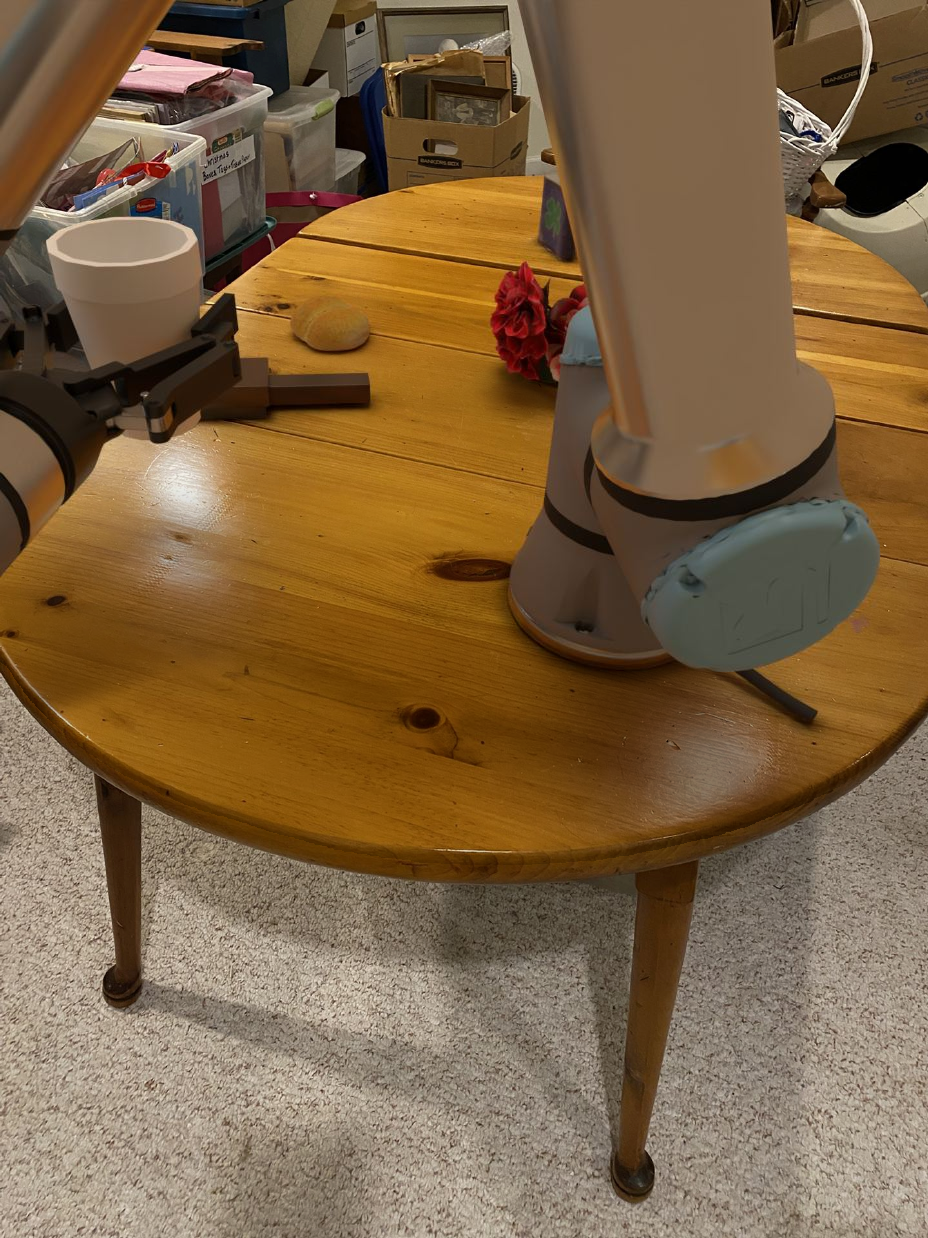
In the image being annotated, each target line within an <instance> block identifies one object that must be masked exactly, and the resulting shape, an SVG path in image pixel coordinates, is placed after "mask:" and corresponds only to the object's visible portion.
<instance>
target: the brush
mask: <svg viewBox="0 0 928 1238" xmlns="http://www.w3.org/2000/svg"><path fill="white" fill-rule="evenodd" d="M240 362H241V370H242V380H241V381H240V382H238V383H237V384H236V385H234V386H233V387H231V388H230V389H229V390H227V391H226V392H224V393H223V394H222V395H220V396H219V397H218V398H216V399H215V400H213V401H212V402H211V403H209V404H208V405H206V406H205V407H204V408H202V409H201V410H200V416H201V418H200V420H199V421H220V420H221V421H223V420H255V419H256V420H257V419H258V420H259V419H260V420H261V419H268V407H271V406H289V405H291V406H294V405H325V404H326V405H329V404H362V403H363V404H364V403H365V404H366V403H367V404H368V403H371V381H370V375H369V373H368V372H347V373H346V372H343V373H341V372H340V373H339V372H337V373H304V374H303V373H300V374H299V373H297V374H296V373H295V374H294V373H293V374H270V364H269V357H267V356H266V357H263V356H262V357H240Z"/></svg>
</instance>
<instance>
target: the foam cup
mask: <svg viewBox="0 0 928 1238" xmlns="http://www.w3.org/2000/svg"><path fill="white" fill-rule="evenodd" d="M45 243H46V244H45V245H46V249H47V254H48V258H49V263H50V267H51V270H52V274H53V279H54V282H55V287H56V289H57V290H58V291H59V292H60V293H61V295H62V297H63V300H65V302H66V305H67V308H68V310H69V313H70V315H71V318H72V321H73V323H74V326H75V328H76V331H77V334H78V336H79V339H80V341H79V342H80V344H81V346H82V349H83V352H84V354H85V357H86V360H87V362H88V365H89V367H90V370H93V369H95V368H98V367H100V366H103V365H106V364H108V363H111V362H113V361H118V362H120V363H122V364H124V365H126V364H129V363H131V362H134V361H136V360H139V359H141V358H144V357H146V356H149V355H151V354H154V353H156V352H159V351H161V350H164V349H166V348H169V347H171V346H174V345H176V344H179V343H181V342H184V341H186V340H189V339H191V338H192V336H191V328H192V327H193V326H194V325H195V324H196V323H197V322H198V321H199V320H200V319H201V293H200V291H201V289H200V288H201V285H200V283H201V282H200V280H201V278H202V277H203V268H202V261H201V255H200V253H201V252H200V247H199V240H198V237H197V235H196V234H195V232H194V230H193V228H191V227H188V226H186V225H183V224H181V223H179V222H176V221H174V220H169V219H164V218H163V219H162V218H155V217H149V216H111V217H106V218H99V219H93V220H91V219H90V220H86V221H85V220H84V221H81V222H79V223H76V224H75V223H74V224H72V225H70V226H66V227H63V228H61V229H60V228H59V230H57V231H56V232H55V233H53V234H52V235H51V236H50V237H49V238H48V239H46V240H45ZM111 383H112V385H113V387H114V389H115V385H114V381H111ZM115 391H116V389H115ZM200 418H201V416H200V411H198V412H197V413H195V414H194V415H193V416H191V417H190V418H188V419H187V420H186V421H184V422H183V423H181V424H180V425H179V426H178V427H177V429H176V431H175V432H174V434H173V436H172V437H171V439H172V438H174V437H179V436H182V435H184V434H186V433H187V432H189V431H191V430H193V429H194V428H196V427H197V425H198V423H199V421H201V420H200ZM121 435H122V436H123V437H124V438H129V439H133V440H138V441H150V438H149V433H148V431H142V430H127V429H125V431H124V432H123V434H121Z"/></svg>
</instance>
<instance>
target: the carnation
mask: <svg viewBox="0 0 928 1238" xmlns="http://www.w3.org/2000/svg"><path fill="white" fill-rule="evenodd" d="M552 277H553V276H552V275H551V276H550V277H549V279H548V280H547V282H546V284H545V285H544V286H543V287H541V285H540V284H539V282H538V281H537V279H536V277H535V275H534V273H533V269H532V268H531V267H530V265H529V264H528V262H527V260H524V261H523V262H521V264H520V268H519V269H518V270H517V271H516V272H515V273H514V272H513V270H509V271H507V272H505V274H504V276H503V278H502V280H501V281H500V284H499V286H498V289H497V292H496V293H495V295H494V297H493V299H494V302H495V303H496V307H495V309H494V311H493V312H492V313H490V316H491V317H490V319H489V325H490V327H492V329H491V332H492V334H493V336H494V338H495V340H496V345H495V351H496V352H497V353H498V354H497V355H499V360H501V361H504V362H505V366H506V370H507V373H508V374H512V373H518V374H520V376H523V377H524V378H525V379H526V380H529V381H530V380H537V381H539V382H542V383H545V384H546V383H548V384H551V383H559V376H560V368H561V363H559V356H560V355H561V354H562V353H563V349H564V345H565V340H566V334H567V329H568V326H569V323H570V321H571V319H572V318H573V316H574V315H575V314H576V313H577V312H578V311H580V310H581V309H582V308H584V307H586V306H588V305H589V303H588V299H587V294H586V290H585V286H584V283H583V284H581V285H577V286H576V287H574V288H573V289H572V290H571V291H570V294H569V296H568V297H562V298H560V299H558V300H557V301H556V302H554V304H553V305H552V306H551V305H550V299H549V296H550V283H551V279H552Z"/></svg>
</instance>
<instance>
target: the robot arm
mask: <svg viewBox="0 0 928 1238" xmlns="http://www.w3.org/2000/svg"><path fill="white" fill-rule="evenodd" d="M516 1H517V5H518V10H519V14H520V18H521V23H522V26H523V31H524V35H525V39H526V43H527V48H528V52H529V55H530V60H531V64H532V69H533V73H534V77H535V81H536V82H535V83H536V85H537V86H536V87H537V90H538V95H539V99H540V103H541V107H542V111H543V115H544V120H545V124H546V129H547V133H548V136H549V142H550V146H551V150H552V154H553V158H554V163H555V167H556V171H557V176H559V180H560V184H561V188H562V192H563V197H564V201H565V205H566V209H567V214H568V218H569V222H570V226H571V231H572V235H573V239H574V243H575V248H576V250H575V253H576V256H577V261H578V264H579V268H580V272H581V277H582V281H583V284H584V286H585V290H586V294H587V299H588V303H589V305H588V306H586V307H584V308H582V309H581V310H580V311H578V312H577V313H576V314H575V315H574V316H573V318H572V319H571V321H570V323H569V326H568V329H567V334H566V340H565V345H564V349H563V353H562V354H561V355H560V356H559V363H561V368H560V376H559V382H558V384H557V394H556V399H555V400H556V401H555V409H554V417H553V424H552V432H551V440H550V449H549V457H548V465H547V473H546V480H545V488H544V495H543V496H544V497H543V503H542V507H541V509H540V511H539V513H538V515H537V517H536V518H535V520H534V522H533V524H532V525H531V526H530V527H529V529H528V532H527V533H526V535H525V540H524V542H523V544H522V547H521V548H520V549H519V550H518V551H517V554H516V555H515V557H514V560H513V562H512V564H511V567H510V570H509V580H508V588H507V599H508V605H509V608H510V609H509V610H510V612H511V614H512V616H513V617H514V619H515V621H516V622H517V624H518V625H519V626H520V628H521V629H522V630H523V632H525V634H527V635H528V636H529V638H531V639H532V640H534V641H535V642H536V643H537V644H538V645H540V646H542V647H543V648H544V649H547V650H548V651H550V652H552V653H554V654H556V655H558V656H560V657H561V658H564V659H567V660H570V661H572V662H575V663H578V664H581V665H585V666H589V667H594V668H601V669H605V670H616V671H617V670H618V671H619V670H621V671H626V670H627V671H631V670H643V669H651V668H655V667H660V666H662V665H666V664H667V663H672V662H674V661H678V662H680V663H681V664H683V665H685V666H687V667H690V668H694V669H699V670H700V669H707V670H709V671H712V672H718V673H719V672H720V673H731V672H734V673H735V674H737V675H738V676H740V678H742V679H744V680H745V681H747V682H748V683H749V684H751V685H752V686H753V687H754V688H756V689H757V690H758V691H760V692H761V693H763V694H764V695H765V696H767V697H768V698H770V699H771V700H773V701H774V702H776V703H777V704H779V705H780V706H782V707H783V708H785V709H786V710H788V711H790V712H791V713H793V714H795V715H797V716H798V717H799V718H802V720H805V721H807V722H809V723H812V722H813V721H814V720H815V719H816V717H817V715H818V713H819V711H818V710H817V709H815V708H813V707H812V706H811V705H808V704H807V703H805V702H803V701H801V700H799V699H798V698H796V697H795V696H793V695H791V694H790V693H788V692H787V691H785V690H784V689H782V688H781V687H780V686H778V685H776V684H775V683H774V682H772V681H771V680H770V679H768V678H767V677H765V676H764V674H762V673H760V672H758V670H756V669H757V668H762V667H765V666H768V665H772V664H774V663H777V662H780V661H783V660H785V659H789V658H790V657H792V656H793V657H794V656H795V655H797V654H799V653H801V652H803V651H806V649H809V648H810V647H811V646H813V645H815V644H817V643H819V642H820V641H822V640H823V639H825V638H826V637H827V636H828V635H830V634H831V633H833V631H834V630H835V629H836V628H837V627H838V626H839V625H840V624H841V623H843V622H845V621H846V620H848V619H849V617H850V616H851V615H853V613H854V612H855V611H856V610H857V609H858V608H859V606H860V605H861V604H862V603H863V601H864V600H865V599H866V597H867V596H868V594H869V592H870V591H871V589H872V588H873V587H872V586H873V585H874V583H875V580H876V578H877V575H878V571H879V567H880V562H881V549H880V542H879V541H878V538H877V535H876V533H875V531H874V530H873V529H872V527H871V525H870V518H869V516H868V515H867V514H866V512H865V511H864V510H863V509H862V508H861V507H860V506H858V505H857V504H856V503H854V502H851V501H849V499H848V498H847V496H846V494H845V491H844V489H843V487H842V484H841V480H840V476H839V464H838V463H839V461H838V460H839V459H838V442H837V441H838V440H837V421H836V420H837V418H836V417H837V416H836V401H835V396H834V392H833V389H832V387H831V385H830V382H829V381H828V380H827V379H826V377H825V376H824V375H823V374H822V373H821V372H820V371H819V370H817V369H816V368H815V367H813V366H812V365H810V364H808V363H806V362H805V361H803V360H801V359H799V358H797V345H796V333H795V320H794V319H795V318H794V306H793V305H794V304H793V303H794V302H793V292H792V291H793V290H792V278H791V277H792V276H791V264H790V262H791V261H790V250H789V238H788V224H787V223H788V222H787V211H786V210H787V209H786V195H785V181H784V169H783V155H782V154H783V153H782V141H781V140H782V139H781V129H780V127H781V126H780V115H779V113H780V112H779V100H778V86H777V85H778V84H777V74H776V71H777V70H776V59H775V57H776V56H775V47H774V46H775V45H774V32H773V30H774V29H773V19H772V3H771V0H516ZM175 2H176V0H0V261H1V260H2V259H3V257H4V255H5V254H6V253H7V252H8V250H9V248H10V247H11V245H12V244H13V243H14V241H15V239H16V238H17V236H18V233H19V231H20V230H21V228H22V226H23V225H24V224H25V222H26V221H27V220H28V218H29V217H30V215H31V214H32V212H33V210H34V209H35V208H36V206H37V205H38V203H39V202H40V200H41V198H43V196H44V195H45V193H46V191H47V190H48V188H49V187H50V186H51V184H52V182H53V181H54V180H55V179H56V177H57V175H58V174H59V172H60V171H61V169H62V168H63V166H64V165H65V164H66V162H67V160H68V159H69V158H70V156H71V155H72V154H73V152H74V150H75V149H76V148H77V146H78V145H79V143H80V141H81V140H82V139H83V137H84V136H85V134H86V133H87V131H88V129H90V127H91V125H92V124H93V123H94V121H95V120H96V118H97V116H98V115H99V113H100V112H101V111H102V109H103V108H104V107H105V105H106V103H107V102H108V100H109V99H110V97H111V96H112V95H113V93H114V92H115V90H116V89H117V87H118V85H119V84H120V83H121V81H122V80H123V78H125V76H126V74H127V73H128V71H129V69H130V68H131V66H132V65H133V63H134V62H135V61H136V60H137V58H138V57H139V55H140V53H141V52H142V51H143V49H144V48H145V47H146V45H147V43H148V42H149V41H150V39H151V37H152V36H153V34H154V33H155V31H156V30H157V29H158V27H159V26H160V24H161V22H162V21H163V20H164V18H165V17H166V15H167V14H168V13H169V11H170V9H171V8H172V6H173V5H174V3H175ZM21 313H22V316H23V319H24V321H23V322H15V320H14V317H12V316H7V315H0V578H2V576H3V575H4V574H5V573H6V571H8V569H9V568H10V567H11V565H12V564H13V563H14V562H15V561H16V560H17V558H18V557H19V556H20V555H21V554H22V553H23V551H24V550H25V549H26V548H27V547H28V546H29V545H30V543H32V541H33V540H34V539H35V538H36V537H37V535H38V534H39V533H40V532H41V531H42V530H43V528H44V527H45V526H46V525H47V524H48V523H49V522H50V521H51V519H52V518H54V516H55V515H56V514H57V512H58V511H59V510H60V508H61V507H62V506H63V505H65V504H66V503H67V502H68V501H69V500H70V499H71V497H72V496H73V495H74V494H75V493H76V492H77V490H78V489H79V488H80V487H81V486H82V485H83V483H84V482H85V481H86V480H87V479H88V478H89V477H90V475H91V474H92V473H93V471H94V469H95V468H96V465H97V463H98V460H99V458H100V455H101V452H102V450H103V448H104V445H105V444H107V443H108V442H110V441H112V440H114V439H117V438H118V437H120V436H121V435H122V434H123V432H124V431H125V429H127V430H142V431H148V433H149V438H150V440H149V441H150V442H151V443H152V444H156V445H161V444H166V443H168V442H169V441H171V439H172V438H173V437H172V436H173V434H174V432H175V431H176V429H177V427H178V426H179V425H180V424H181V423H183V422H184V421H186V420H187V419H188V418H190V417H191V416H193V415H194V414H195V413H197V412H198V411H200V410H201V409H202V408H204V407H205V406H206V405H208V404H209V403H211V402H212V401H213V400H215V399H216V398H218V397H219V396H220V395H222V394H223V393H224V392H226V391H227V390H229V389H230V388H231V387H233V386H234V385H236V384H237V383H238V382H240V381H241V380H242V370H241V362H240V358H241V354H240V348H239V347H240V345H239V342H237V341H235V335H237V333H238V332H239V331H240V329H239V321H238V311H237V303H236V295H235V293H230V292H223V294H222V295H220V297H219V298H218V299H217V300H216V301H215V302H214V304H212V306H211V307H210V308H209V309H208V310H206V312H205V313H204V314H203V315H202V316H200V320H199V321H198V322H197V323H196V324H195V325H194V326H193V327H192V328H191V336H192V338H191V339H189V340H186V341H184V342H181V343H179V344H176V345H174V346H171V347H169V348H166V349H164V350H161V351H159V352H156V353H154V354H151V355H149V356H146V357H144V358H141V359H139V360H136V361H134V362H131V363H129V364H126V365H124V364H122V363H120V362H118V361H113V362H111V363H108V364H106V365H103V366H100V367H98V368H95V369H93V370H91V369H90V370H88V371H81V370H77V371H75V370H72V369H69V368H62V367H54V359H53V358H54V357H53V349H52V345H54V349H55V352H58V353H67V352H69V350H71V349H72V348H73V347H75V345H77V344H78V343H79V342H81V341H80V339H79V336H78V334H77V331H76V328H75V326H74V323H73V321H72V318H71V315H70V313H69V310H68V308H67V305H66V302H65V300H64V299H62V300H61V301H60V302H58V303H56V304H53V305H51V306H50V307H48V308H47V309H46V310H45V311H44V312H43V310H42V307H41V305H39V304H38V303H37V304H36V303H29V304H26V305H23V306H22V307H21ZM20 360H21V368H20V369H15V368H16V366H17V365H18V363H19V361H20ZM111 381H114V385H115V389H116V391H115V389H114V387H113V385H112V383H111ZM171 437H172V438H171Z"/></svg>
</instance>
